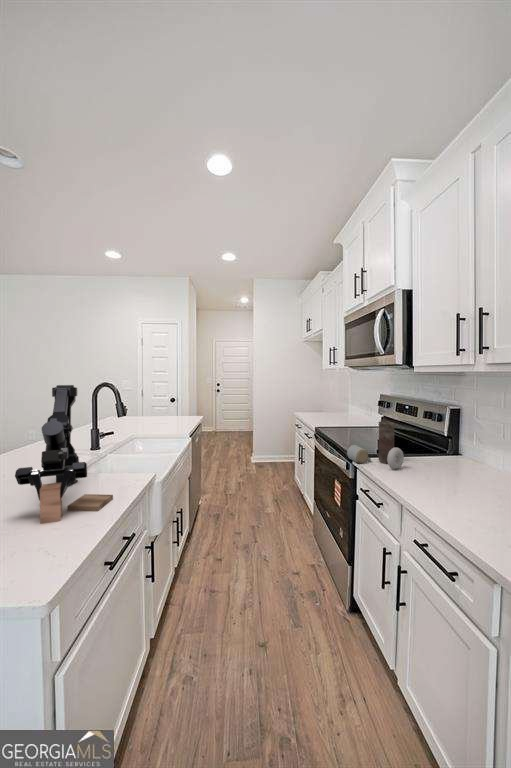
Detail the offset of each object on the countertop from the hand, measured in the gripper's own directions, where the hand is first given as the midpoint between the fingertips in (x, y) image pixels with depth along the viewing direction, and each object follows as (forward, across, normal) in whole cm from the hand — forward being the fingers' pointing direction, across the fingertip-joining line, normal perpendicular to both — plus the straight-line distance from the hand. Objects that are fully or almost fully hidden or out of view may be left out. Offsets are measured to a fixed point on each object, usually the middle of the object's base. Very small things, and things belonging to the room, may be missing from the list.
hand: (50, 498), depth 98 cm
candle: (-1, +141, +11) cm, 142 cm away
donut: (+6, +136, +4) cm, 136 cm away
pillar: (+4, 0, +6) cm, 7 cm away
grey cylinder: (-6, +130, +15) cm, 131 cm away
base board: (-1, +10, +11) cm, 15 cm away
